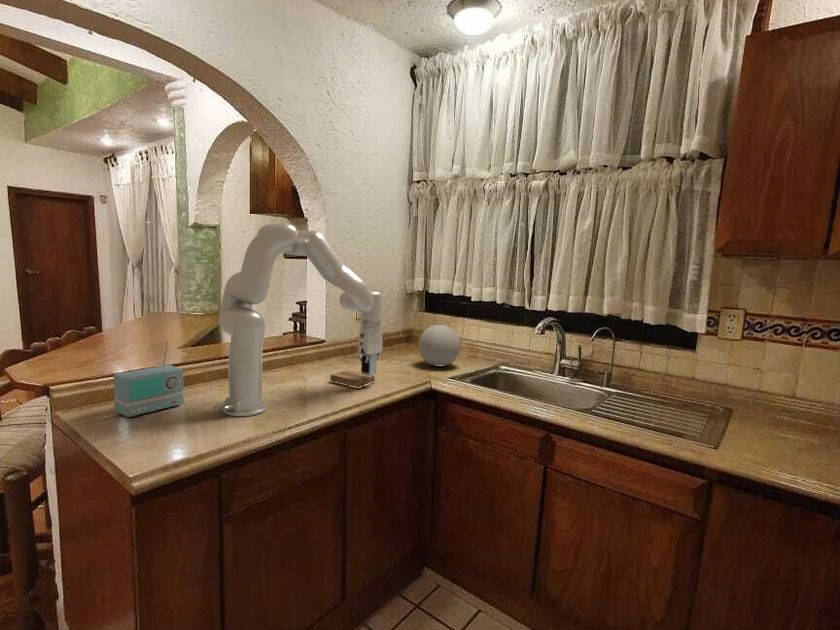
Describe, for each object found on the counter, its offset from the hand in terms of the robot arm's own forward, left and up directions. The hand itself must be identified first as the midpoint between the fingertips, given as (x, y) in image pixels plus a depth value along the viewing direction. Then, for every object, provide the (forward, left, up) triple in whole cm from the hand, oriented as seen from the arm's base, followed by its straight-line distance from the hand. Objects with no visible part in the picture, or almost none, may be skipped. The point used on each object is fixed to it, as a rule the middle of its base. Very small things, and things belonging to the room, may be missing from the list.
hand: (368, 370), depth 163 cm
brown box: (0, +8, -6) cm, 10 cm away
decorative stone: (+49, -4, -6) cm, 50 cm away
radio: (-62, +34, -7) cm, 71 cm away
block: (0, 0, -1) cm, 1 cm away
